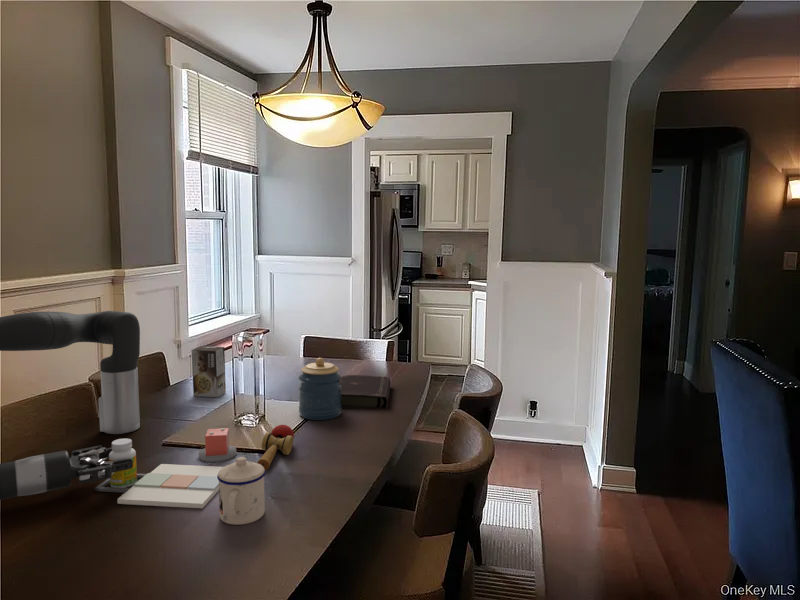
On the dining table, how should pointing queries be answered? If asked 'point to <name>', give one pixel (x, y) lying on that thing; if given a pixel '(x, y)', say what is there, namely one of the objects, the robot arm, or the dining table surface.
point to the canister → (320, 391)
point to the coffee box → (208, 371)
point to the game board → (171, 486)
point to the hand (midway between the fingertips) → (128, 456)
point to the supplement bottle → (121, 452)
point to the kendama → (276, 444)
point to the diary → (364, 391)
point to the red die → (217, 446)
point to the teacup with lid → (241, 492)
